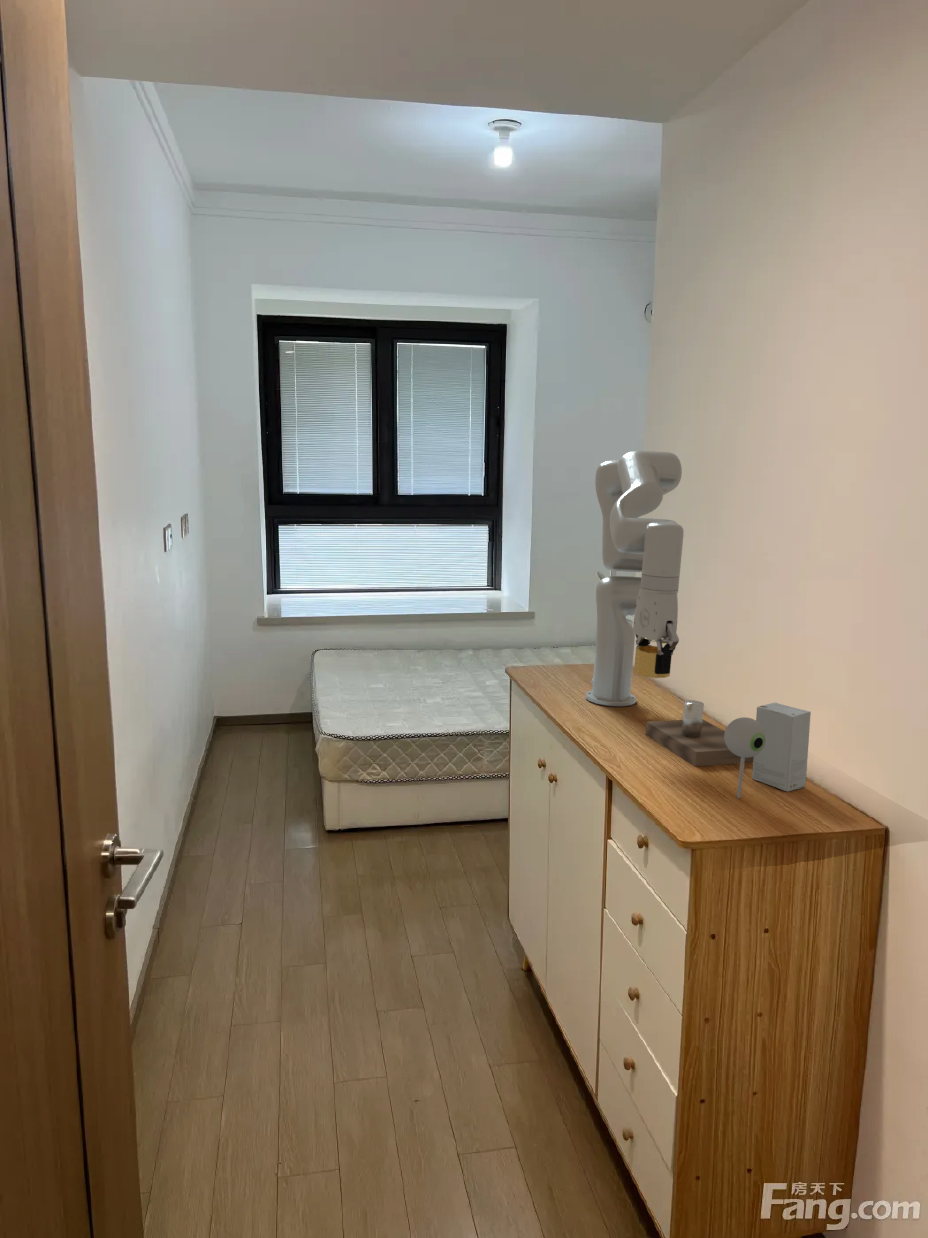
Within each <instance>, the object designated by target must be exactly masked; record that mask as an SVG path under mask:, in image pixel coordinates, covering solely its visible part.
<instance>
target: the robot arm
mask: <svg viewBox="0 0 928 1238" xmlns="http://www.w3.org/2000/svg"><path fill="white" fill-rule="evenodd" d="M682 471H683V470H682V463H681V460H680V459H679V457H678V455H676V454H675V453H673V452H670V451H654V450H653V451H650V450H633V451H632V450H631V451H629V452H626V453H625V454H623V455H622V456H621V457H620V458H619V459H614V460H613V459H612V460H606V461H604V462H602V463H600V464H599V465H598V467H597V469H596V472H595V479H594V482H595V483H594V484H595V492H596V498H597V501H598V504H599V508H600V510H601V516H602V535H601V536H602V540H601V544H602V547H601V549H602V550H601V551H602V553H601V554H602V562H603V565H604V567H605V568H606V569H607V570H610V571H613V572H625V573H627V572H628V573H641V576H625V575H624V576H623V575H610V576H606V577H604V578H601V579H600V581H598V583H597V585H596V588H595V603H596V604H595V605H596V635H595V637H596V638H595V649H594V650H595V651H594V661H593V676H592V679H591V680H590V683H591V684H592V689H591V690H588V691H587V692H585V698H586V700H588V701H589V702H590V703H593V704H596V705H600V706H601V705H602V706H607V707H627V706H633V705H634V704H635V703H636V702H637V696H635V694H633V693H631V692H632V691H631V689H632V677H633V668H634V667H633V666H634V665H633V663H634V654H635V652H634V651H635V645H636V647H638V646H652V644H651V642H653V643H655V642H656V646H657V648H658V654H656V662H655V673H656V674H669V673H670V674H671V667H670V666H671V664H672V657H671V655H672V656H673V655H674V651H675V650H676V648H677V647H676V646H677V645H678V644H679V641H680V638H679V635H678V634H677V631H678V616H679V615H678V611H679V607H678V606H679V605H678V604H679V603H678V600H679V599H678V593H679V586H680V585H679V584H680V575H681V567H682V566H681V564H682V555H683V543H684V527H683V526H682V525H681V524H679V523H677V521H675V520H671V519H662V518H645V517H644V518H643V517H642V516H645V515H647V514H650V513H652V512H654V511H655V510H656V509H658V507H660V505H661V503H662V501H663V498H664V496H665V495H666V494H668V493H671V492H673V491H674V490H675V489H676V488H677V487H678V486H679V484H680V483H681V480H682V476H683V475H682V473H683V472H682ZM640 517H641V518H640ZM629 616H634V617H633V618H634V619H633V624H631V623H630V622H629V621H628V619H627V618H626V617H629ZM632 625H633V626H632ZM635 639H636V640H635ZM663 644H664V646H663Z"/></svg>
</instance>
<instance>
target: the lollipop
mask: <svg viewBox="0 0 928 1238" xmlns="http://www.w3.org/2000/svg"><path fill="white" fill-rule="evenodd" d="M724 731H725V733H724V739H725V743H726V746H727V747H728V749H729V750H730V751H731V752H732V753H733V754H735V755H737V756H739V757H741V762H740V763H739V773H738V780H737V781H738V782H737V790H736V791H737V792H736V799H741V795H742V788H743V787H742V786H743V780H744V779H743V777H744V769H745V763H744V761H745V758H748V757H753V756H755V755H757V754H759V753H760V752H761V751H762V750H763V749H764V746H765V744H766V733H765V730H764V728H763V727H762V726H761V724H760V723H758V722H757V721H756V719H753V718H750V717H739V718H735V719H734V720H732V721H731V722H729V724H728V725H726V728H725V730H724Z"/></svg>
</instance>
